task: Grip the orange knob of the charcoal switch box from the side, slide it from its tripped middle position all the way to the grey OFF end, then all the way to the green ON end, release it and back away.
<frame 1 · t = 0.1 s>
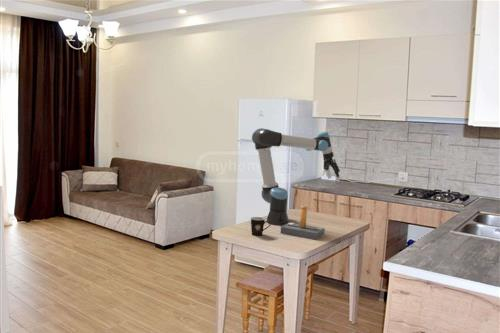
hand: (333, 179, 329), 28 cm above the table, tool tilted 20°, fingers open, 13 cm apart
switch box: (302, 233, 278), on the table
switch lever: (303, 219, 277), point 9 cm above the table, slide at 0.0 cm
coffee mug: (259, 235, 271), on the table
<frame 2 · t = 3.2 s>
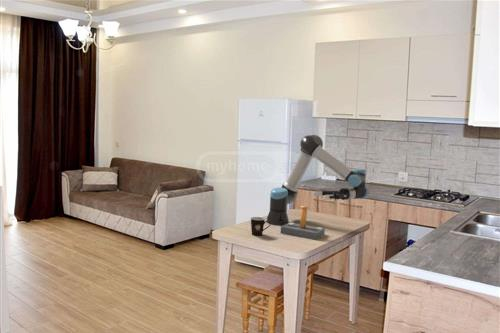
hand: (318, 195, 280), 24 cm above the table, tool horizontal, fingers open, 13 cm apart
nothing on the table moved.
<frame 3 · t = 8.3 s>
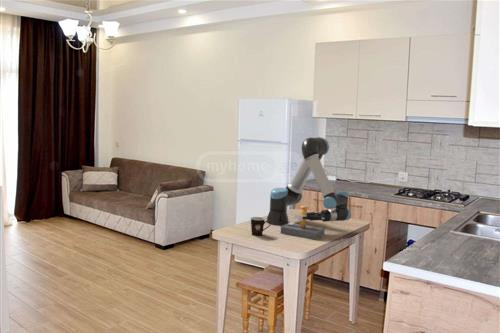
hand: (295, 217, 275), 11 cm above the table, tool horizontal, fingers closed on switch lever, 4 cm apart
switch lever: (303, 219, 277), point 9 cm above the table, slide at 0.0 cm, touching gripper
everything else where it was.
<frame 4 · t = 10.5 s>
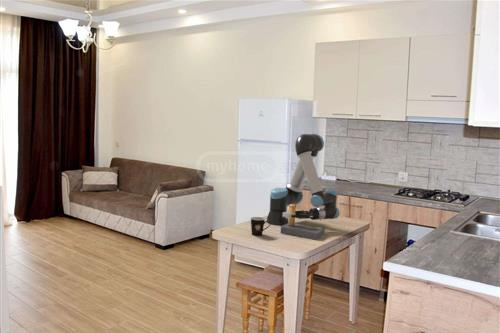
hand: (284, 215, 278), 11 cm above the table, tool horizontal, fingers closed on switch lever, 4 cm apart
switch lever: (292, 217, 281), point 9 cm above the table, slide at -7.7 cm, touching gripper
everything else where it was.
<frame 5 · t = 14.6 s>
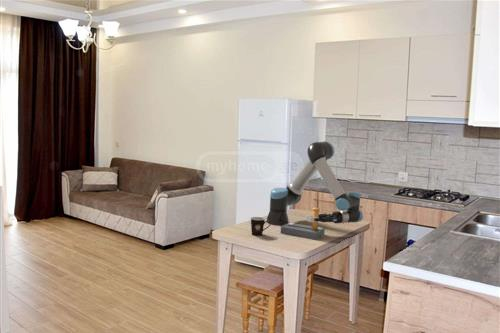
hand: (307, 218, 271), 11 cm above the table, tool horizontal, fingers closed on switch lever, 3 cm apart
switch lever: (315, 221, 273), point 9 cm above the table, slide at 7.9 cm, touching gripper
everything else where it was.
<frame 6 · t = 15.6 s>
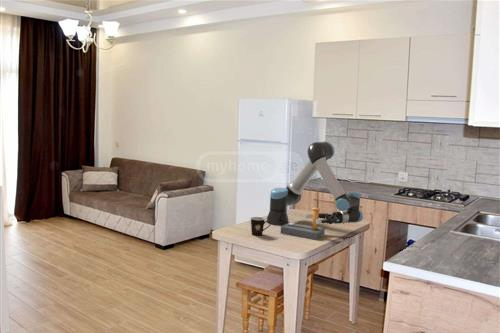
hand: (310, 218, 272), 11 cm above the table, tool horizontal, fingers open, 13 cm apart
switch lever: (315, 221, 273), point 9 cm above the table, slide at 7.9 cm
everything else where it was.
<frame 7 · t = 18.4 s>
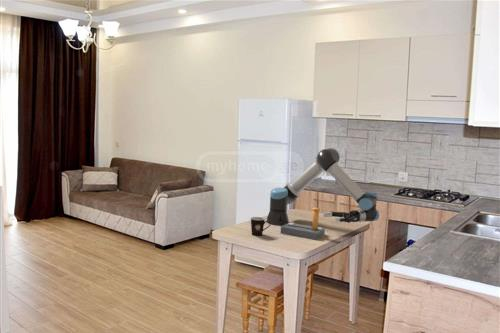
hand: (328, 217, 277), 11 cm above the table, tool horizontal, fingers open, 13 cm apart
nothing on the table moved.
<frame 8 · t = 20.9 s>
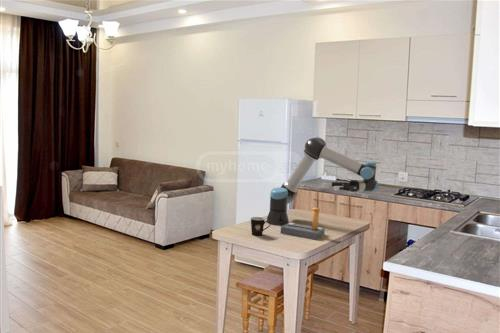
hand: (328, 186, 281), 30 cm above the table, tool horizontal, fingers open, 13 cm apart
nothing on the table moved.
at the end: switch lever slide at 7.9 cm; the gripper is holding nothing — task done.
